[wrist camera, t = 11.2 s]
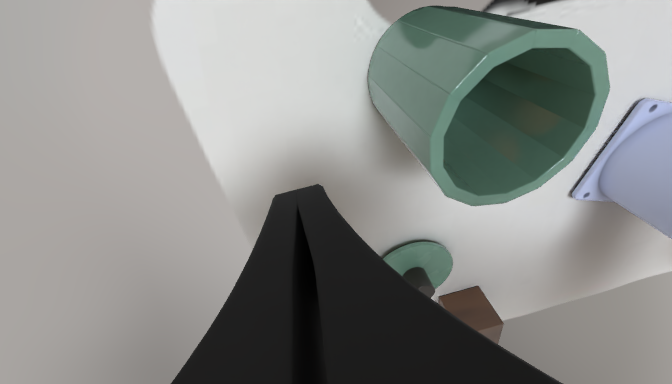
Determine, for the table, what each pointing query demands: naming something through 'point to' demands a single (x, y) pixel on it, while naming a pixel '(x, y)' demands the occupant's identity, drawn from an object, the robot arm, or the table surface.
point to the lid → (422, 265)
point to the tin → (488, 98)
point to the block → (474, 311)
